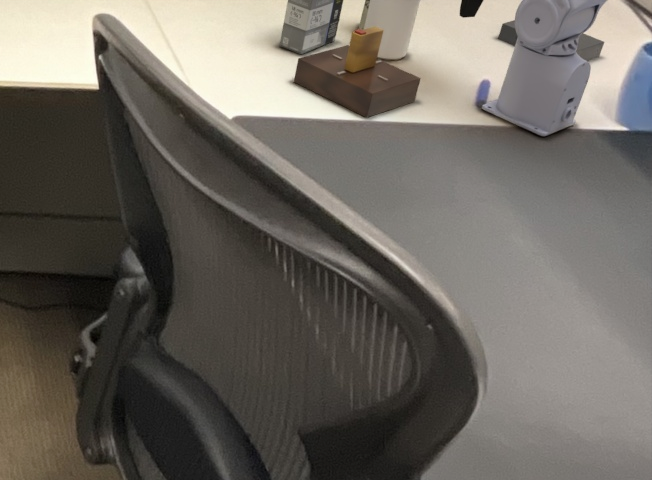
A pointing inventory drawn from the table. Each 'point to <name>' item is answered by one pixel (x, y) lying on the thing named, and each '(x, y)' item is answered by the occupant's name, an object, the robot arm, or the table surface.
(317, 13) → the tape cartridge
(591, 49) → the dark grey rectangular block
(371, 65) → the thumbturn
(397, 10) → the can
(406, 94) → the plate
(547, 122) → the robot arm
